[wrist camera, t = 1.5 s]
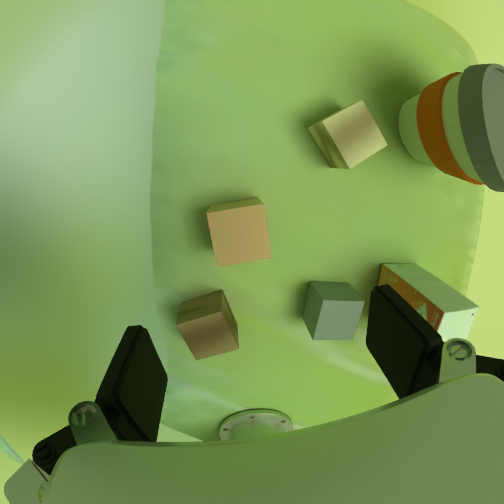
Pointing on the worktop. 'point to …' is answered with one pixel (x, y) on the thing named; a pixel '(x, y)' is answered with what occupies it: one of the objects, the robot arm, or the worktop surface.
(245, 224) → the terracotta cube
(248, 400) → the worktop surface
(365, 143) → the pale oak cube
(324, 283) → the slate grey cube
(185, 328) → the walnut cube
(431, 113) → the reusable coffee cup
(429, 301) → the small box
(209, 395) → the worktop surface
